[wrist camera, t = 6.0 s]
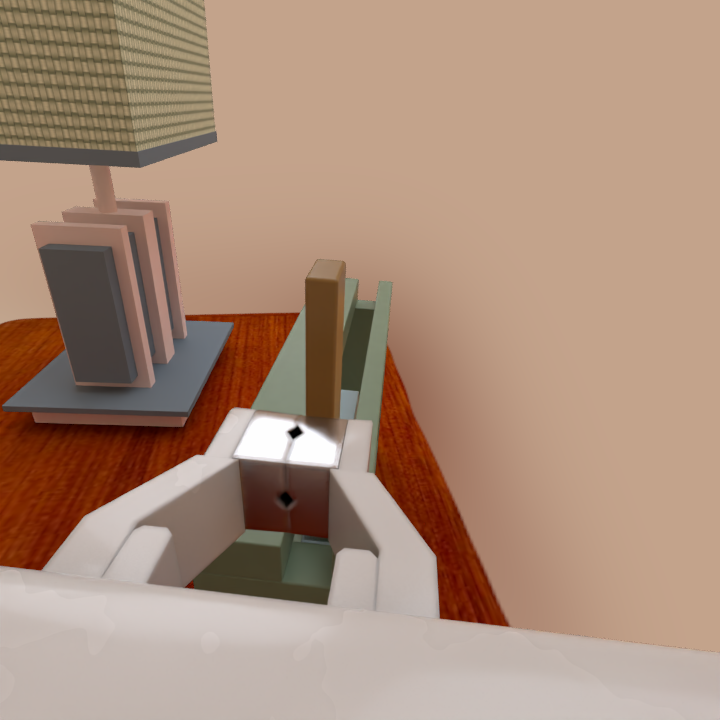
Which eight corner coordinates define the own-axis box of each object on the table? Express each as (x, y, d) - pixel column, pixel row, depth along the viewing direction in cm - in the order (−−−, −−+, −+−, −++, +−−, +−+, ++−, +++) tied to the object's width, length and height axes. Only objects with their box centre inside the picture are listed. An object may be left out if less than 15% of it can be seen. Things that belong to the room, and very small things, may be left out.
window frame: (377, 444, 39) (392, 281, 32) (345, 784, 19) (365, 557, 13) (317, 438, 39) (319, 275, 32) (226, 767, 20) (183, 535, 13)
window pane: (349, 540, 28) (370, 206, 19) (325, 714, 20) (341, 284, 11) (333, 538, 28) (345, 204, 19) (302, 711, 20) (297, 280, 11)
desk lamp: (109, 334, 53) (23, -40, 37) (236, 339, 53) (206, -27, 38) (5, 438, 37) (-225, -144, 21) (188, 443, 37) (100, -119, 22)
